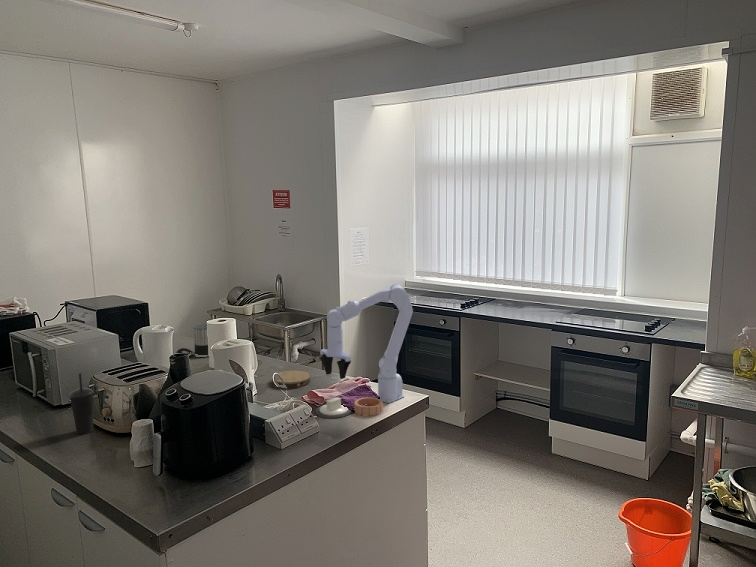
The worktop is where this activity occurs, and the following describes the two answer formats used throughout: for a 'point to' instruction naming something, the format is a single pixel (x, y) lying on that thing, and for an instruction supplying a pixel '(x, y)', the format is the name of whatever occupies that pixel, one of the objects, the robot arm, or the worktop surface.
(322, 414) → the mat
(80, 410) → the drinking cup
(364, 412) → the bowl
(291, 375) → the brown round disc
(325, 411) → the lid
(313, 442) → the worktop surface
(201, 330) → the milk frother
